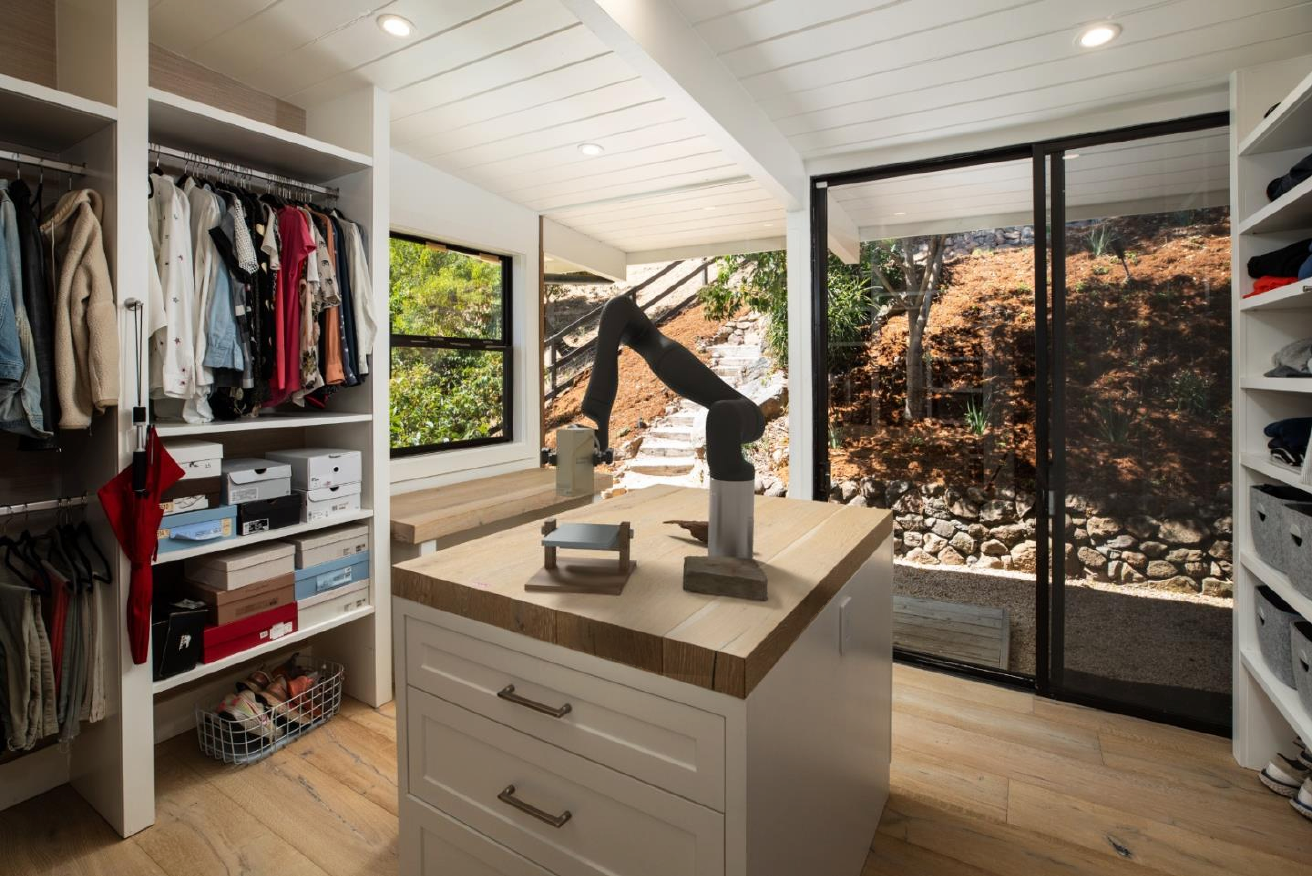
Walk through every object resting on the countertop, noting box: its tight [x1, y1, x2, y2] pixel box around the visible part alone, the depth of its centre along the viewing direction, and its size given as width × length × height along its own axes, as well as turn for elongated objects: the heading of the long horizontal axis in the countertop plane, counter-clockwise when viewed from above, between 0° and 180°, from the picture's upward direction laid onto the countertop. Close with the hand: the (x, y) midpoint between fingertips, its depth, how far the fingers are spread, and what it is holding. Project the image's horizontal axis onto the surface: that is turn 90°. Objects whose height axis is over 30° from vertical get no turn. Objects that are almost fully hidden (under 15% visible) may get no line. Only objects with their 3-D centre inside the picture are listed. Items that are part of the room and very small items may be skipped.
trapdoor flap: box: [540, 522, 620, 552], centre depth 127 cm, size 15×12×4 cm
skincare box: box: [555, 427, 595, 498], centre depth 124 cm, size 6×4×12 cm
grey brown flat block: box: [682, 555, 769, 602], centre depth 124 cm, size 17×15×4 cm
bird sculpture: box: [662, 519, 755, 544], centre depth 156 cm, size 7×25×5 cm, turn 54°
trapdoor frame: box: [523, 517, 638, 596], centre depth 127 cm, size 19×18×10 cm
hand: (574, 460), depth 122 cm, fingers closed on skincare box, 7 cm apart
